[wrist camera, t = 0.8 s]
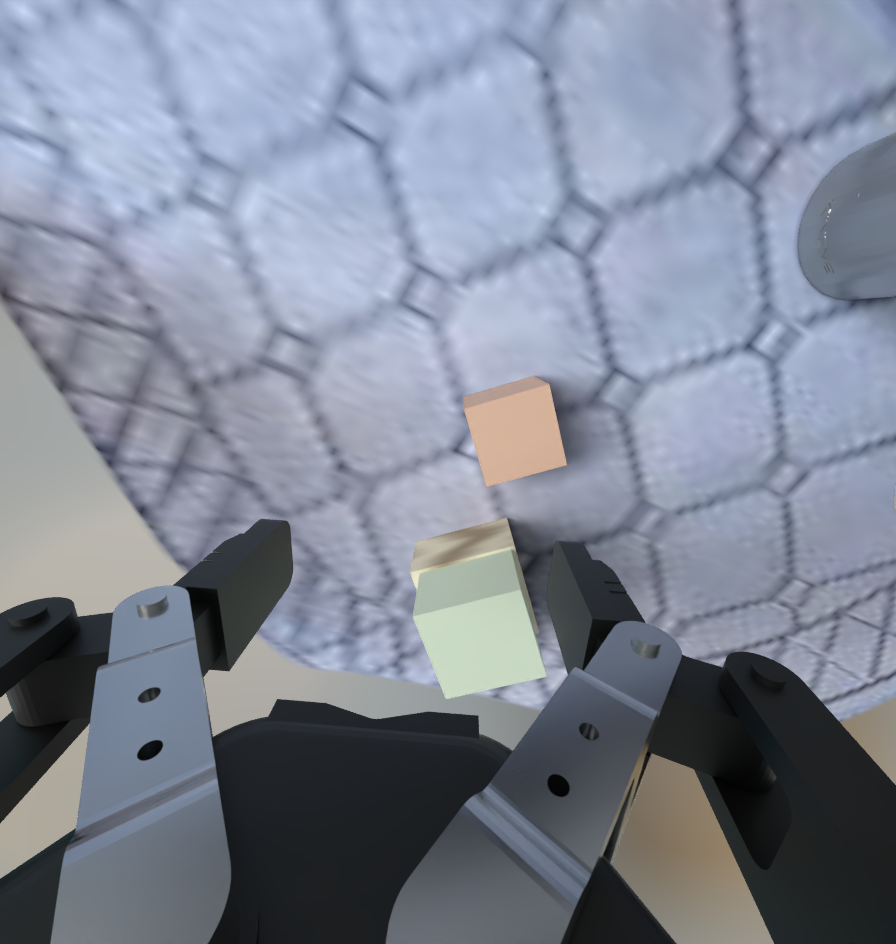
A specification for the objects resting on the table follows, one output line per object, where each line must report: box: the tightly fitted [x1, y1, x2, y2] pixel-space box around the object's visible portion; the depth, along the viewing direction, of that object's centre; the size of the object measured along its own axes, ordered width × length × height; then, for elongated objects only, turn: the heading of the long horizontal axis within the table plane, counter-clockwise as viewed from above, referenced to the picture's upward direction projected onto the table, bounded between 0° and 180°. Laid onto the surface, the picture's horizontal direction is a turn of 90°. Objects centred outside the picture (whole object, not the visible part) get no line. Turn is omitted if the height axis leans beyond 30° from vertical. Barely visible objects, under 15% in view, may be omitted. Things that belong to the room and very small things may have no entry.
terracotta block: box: [463, 376, 567, 487], centre depth 29 cm, size 6×6×6 cm
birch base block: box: [410, 518, 539, 634], centre depth 34 cm, size 8×8×5 cm
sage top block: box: [413, 549, 547, 699], centre depth 29 cm, size 7×7×5 cm
